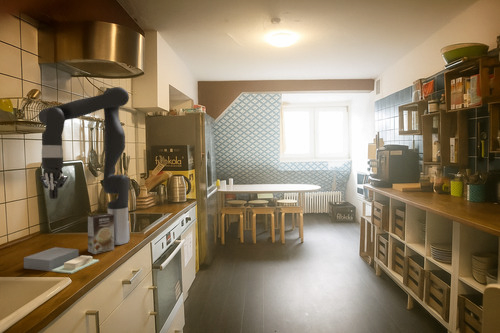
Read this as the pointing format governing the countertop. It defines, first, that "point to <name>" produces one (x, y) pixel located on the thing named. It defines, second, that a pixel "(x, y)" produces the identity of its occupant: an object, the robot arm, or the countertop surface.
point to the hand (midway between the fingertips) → (53, 198)
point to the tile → (78, 262)
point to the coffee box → (100, 233)
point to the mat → (65, 270)
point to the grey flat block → (50, 258)
